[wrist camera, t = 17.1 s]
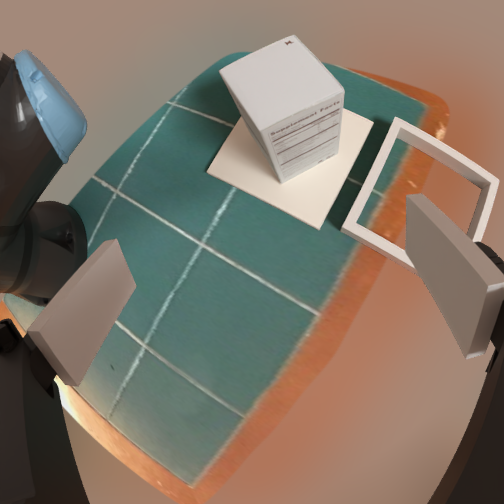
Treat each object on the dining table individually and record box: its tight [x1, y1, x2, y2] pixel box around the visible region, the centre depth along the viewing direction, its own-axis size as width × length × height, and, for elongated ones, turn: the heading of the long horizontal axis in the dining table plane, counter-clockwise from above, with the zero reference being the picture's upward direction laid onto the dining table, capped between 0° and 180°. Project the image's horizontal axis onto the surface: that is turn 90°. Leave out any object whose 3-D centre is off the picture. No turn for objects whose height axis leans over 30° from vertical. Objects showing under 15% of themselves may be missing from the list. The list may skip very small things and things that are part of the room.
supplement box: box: [219, 35, 345, 184], centre depth 27 cm, size 7×7×13 cm
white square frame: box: [341, 117, 499, 277], centre depth 29 cm, size 14×14×2 cm
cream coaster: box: [207, 108, 374, 230], centre depth 34 cm, size 14×14×1 cm
